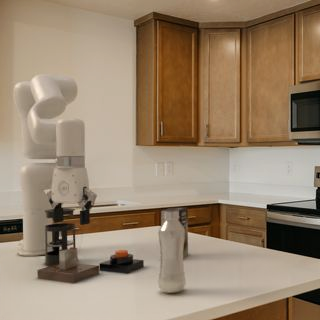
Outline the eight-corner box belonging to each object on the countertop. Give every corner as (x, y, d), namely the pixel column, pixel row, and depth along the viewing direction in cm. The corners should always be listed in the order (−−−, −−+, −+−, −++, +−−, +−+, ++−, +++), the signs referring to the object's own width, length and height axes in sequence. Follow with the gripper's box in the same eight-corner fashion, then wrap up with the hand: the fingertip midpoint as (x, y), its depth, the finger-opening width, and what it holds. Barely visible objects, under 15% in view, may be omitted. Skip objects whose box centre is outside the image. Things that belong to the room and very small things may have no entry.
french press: (81, 263, 143) (79, 190, 142) (49, 268, 137) (48, 192, 137) (69, 257, 152) (68, 188, 152) (40, 261, 146) (38, 190, 146)
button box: (99, 270, 133) (99, 257, 133) (116, 264, 141) (116, 251, 141) (127, 274, 129) (127, 260, 129) (143, 267, 137) (143, 254, 137)
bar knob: (64, 269, 125) (64, 250, 125) (59, 269, 126) (59, 250, 126) (77, 265, 129) (77, 247, 129) (72, 265, 130) (72, 247, 130)
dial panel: (37, 278, 125) (37, 269, 125) (64, 270, 135) (64, 261, 135) (73, 283, 120) (73, 273, 120) (99, 274, 130) (99, 264, 130)
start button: (112, 257, 134) (112, 252, 134) (120, 255, 137) (120, 249, 137) (122, 258, 133) (122, 252, 133) (130, 256, 136) (130, 250, 136)
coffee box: (180, 260, 145) (179, 210, 144) (161, 260, 146) (160, 210, 146) (189, 254, 154) (188, 207, 153) (171, 254, 155) (170, 206, 155)
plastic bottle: (159, 288, 115) (158, 209, 115) (186, 287, 115) (185, 209, 115) (157, 296, 108) (156, 213, 108) (185, 295, 109) (184, 212, 109)
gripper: (37, 162, 128) (38, 223, 128) (85, 163, 121) (85, 227, 121) (58, 162, 135) (58, 219, 135) (104, 162, 128) (104, 223, 128)
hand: (71, 223), depth 128 cm, fingers open, 9 cm apart
